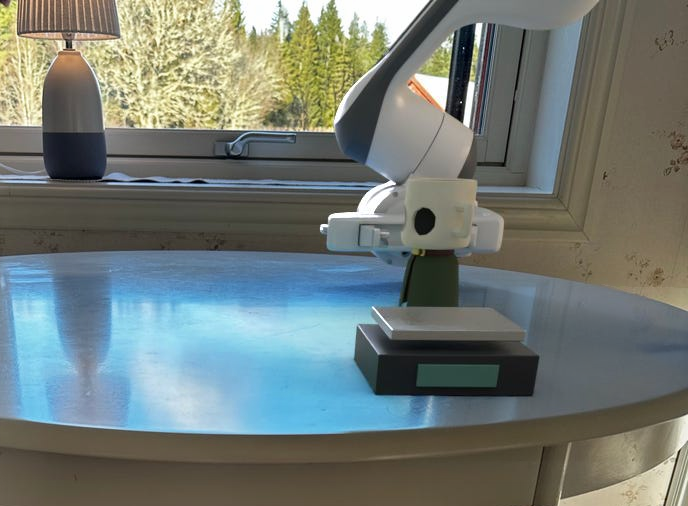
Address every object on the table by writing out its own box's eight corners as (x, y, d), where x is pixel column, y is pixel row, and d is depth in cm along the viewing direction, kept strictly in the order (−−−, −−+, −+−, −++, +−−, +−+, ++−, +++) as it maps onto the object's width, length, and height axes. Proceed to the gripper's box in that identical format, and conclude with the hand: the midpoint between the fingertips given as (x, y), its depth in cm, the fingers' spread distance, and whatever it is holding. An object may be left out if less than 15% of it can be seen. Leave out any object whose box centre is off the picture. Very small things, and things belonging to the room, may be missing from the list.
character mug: (371, 306, 106) (383, 177, 100) (425, 303, 109) (439, 176, 102) (428, 324, 97) (444, 183, 91) (485, 319, 100) (505, 182, 94)
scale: (491, 360, 83) (497, 325, 81) (534, 396, 72) (541, 356, 71) (353, 359, 83) (356, 323, 81) (375, 395, 72) (379, 355, 70)
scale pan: (490, 317, 80) (491, 307, 80) (524, 341, 71) (526, 330, 71) (371, 316, 80) (371, 306, 80) (391, 340, 71) (392, 329, 71)
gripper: (319, 198, 116) (332, 207, 103) (488, 199, 116) (521, 208, 103) (316, 254, 119) (328, 269, 106) (481, 255, 119) (512, 270, 106)
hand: (425, 239), depth 105 cm, fingers open, 8 cm apart
